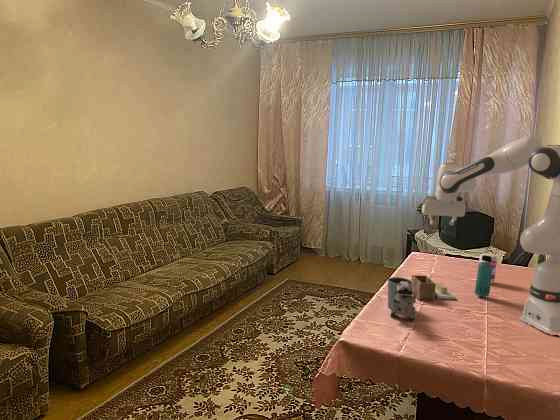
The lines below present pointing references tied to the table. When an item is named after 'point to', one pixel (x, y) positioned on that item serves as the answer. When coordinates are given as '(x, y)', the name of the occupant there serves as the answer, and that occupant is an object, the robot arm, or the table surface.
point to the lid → (443, 292)
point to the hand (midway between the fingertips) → (441, 224)
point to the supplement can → (493, 262)
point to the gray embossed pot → (394, 288)
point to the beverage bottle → (484, 277)
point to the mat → (443, 299)
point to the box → (423, 287)
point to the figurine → (404, 301)
